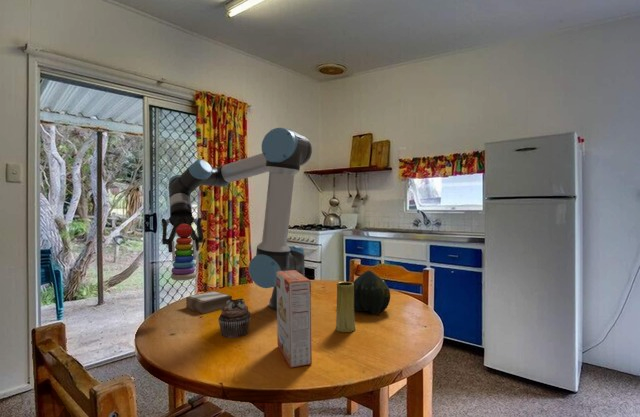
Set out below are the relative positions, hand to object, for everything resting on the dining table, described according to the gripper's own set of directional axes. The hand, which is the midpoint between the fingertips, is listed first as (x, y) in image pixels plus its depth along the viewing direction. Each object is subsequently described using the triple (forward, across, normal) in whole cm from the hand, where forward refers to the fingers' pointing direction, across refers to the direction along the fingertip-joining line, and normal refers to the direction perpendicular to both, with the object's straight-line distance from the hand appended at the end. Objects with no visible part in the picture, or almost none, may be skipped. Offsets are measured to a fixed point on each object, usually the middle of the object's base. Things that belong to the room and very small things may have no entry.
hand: (184, 258), depth 118 cm
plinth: (+5, -10, -25) cm, 27 cm away
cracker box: (+44, -23, +13) cm, 51 cm away
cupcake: (+27, -13, -3) cm, 30 cm away
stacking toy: (+3, 0, -8) cm, 8 cm away
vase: (+36, -45, +6) cm, 58 cm away
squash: (+27, -62, -4) cm, 67 cm away
